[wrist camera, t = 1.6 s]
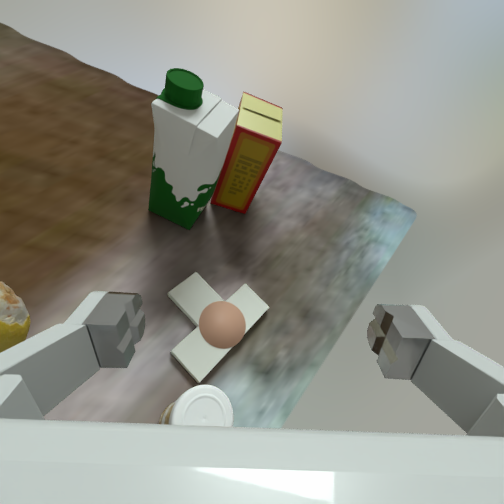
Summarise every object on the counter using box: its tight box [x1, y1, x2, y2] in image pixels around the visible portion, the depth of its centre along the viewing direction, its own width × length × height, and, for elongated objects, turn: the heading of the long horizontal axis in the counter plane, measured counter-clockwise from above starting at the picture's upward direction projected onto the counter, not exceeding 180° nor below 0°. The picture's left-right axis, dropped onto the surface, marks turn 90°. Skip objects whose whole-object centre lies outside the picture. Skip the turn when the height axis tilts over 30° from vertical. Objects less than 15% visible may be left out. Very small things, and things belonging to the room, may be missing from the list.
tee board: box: [168, 272, 269, 383], centre depth 37 cm, size 11×14×1 cm
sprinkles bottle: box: [159, 385, 234, 427], centre depth 25 cm, size 5×5×14 cm
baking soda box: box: [211, 92, 282, 214], centre depth 46 cm, size 10×6×16 cm
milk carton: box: [148, 68, 239, 230], centre depth 38 cm, size 9×9×20 cm
